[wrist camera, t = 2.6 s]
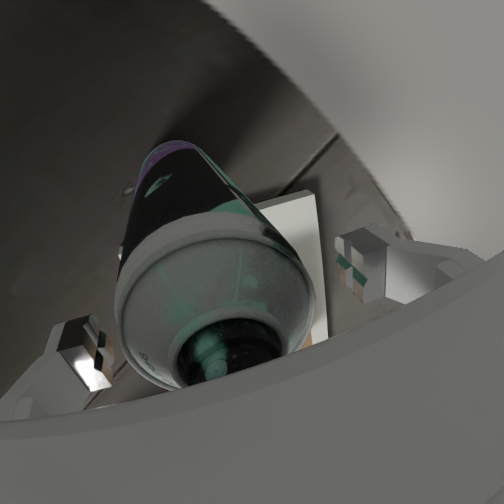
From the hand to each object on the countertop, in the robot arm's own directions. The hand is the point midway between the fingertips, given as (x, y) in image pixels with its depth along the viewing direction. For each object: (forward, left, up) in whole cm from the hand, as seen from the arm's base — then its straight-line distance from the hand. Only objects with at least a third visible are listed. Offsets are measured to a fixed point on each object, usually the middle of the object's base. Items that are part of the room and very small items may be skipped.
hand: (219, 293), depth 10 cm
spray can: (0, 0, -16) cm, 16 cm away
